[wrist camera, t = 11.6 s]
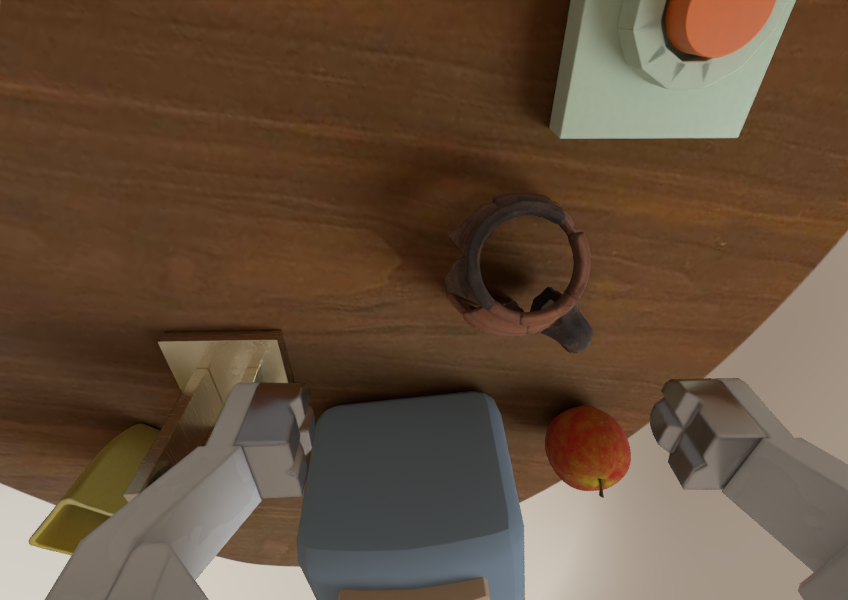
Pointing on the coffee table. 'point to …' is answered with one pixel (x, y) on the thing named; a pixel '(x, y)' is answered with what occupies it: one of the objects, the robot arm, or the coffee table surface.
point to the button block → (652, 76)
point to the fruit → (587, 449)
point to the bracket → (207, 389)
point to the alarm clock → (412, 503)
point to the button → (715, 24)
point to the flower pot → (95, 491)
